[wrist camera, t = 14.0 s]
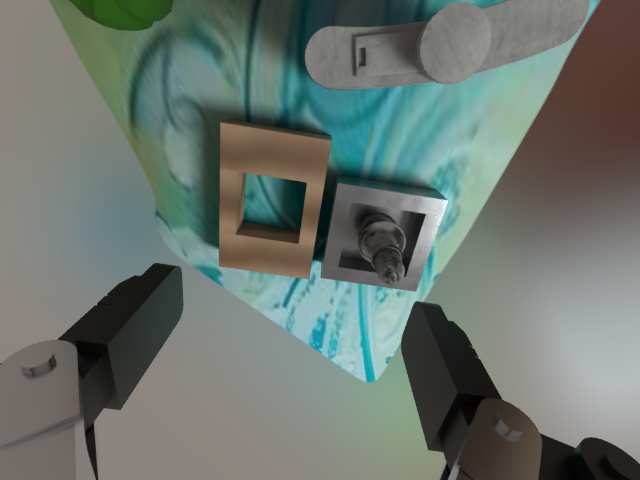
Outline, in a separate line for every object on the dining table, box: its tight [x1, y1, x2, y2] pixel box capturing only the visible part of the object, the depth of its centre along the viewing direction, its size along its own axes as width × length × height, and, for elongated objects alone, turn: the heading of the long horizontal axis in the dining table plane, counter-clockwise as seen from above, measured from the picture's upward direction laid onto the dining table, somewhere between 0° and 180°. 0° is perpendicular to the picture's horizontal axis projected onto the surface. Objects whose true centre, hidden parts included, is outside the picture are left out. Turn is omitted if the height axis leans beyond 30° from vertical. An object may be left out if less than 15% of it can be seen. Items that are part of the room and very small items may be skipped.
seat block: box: [321, 175, 448, 292], centre depth 40 cm, size 13×13×4 cm
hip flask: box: [305, 0, 589, 90], centre depth 25 cm, size 16×4×20 cm, turn 99°
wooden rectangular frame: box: [219, 119, 332, 279], centre depth 39 cm, size 18×12×4 cm, turn 171°
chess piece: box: [358, 213, 406, 284], centre depth 36 cm, size 6×6×12 cm
